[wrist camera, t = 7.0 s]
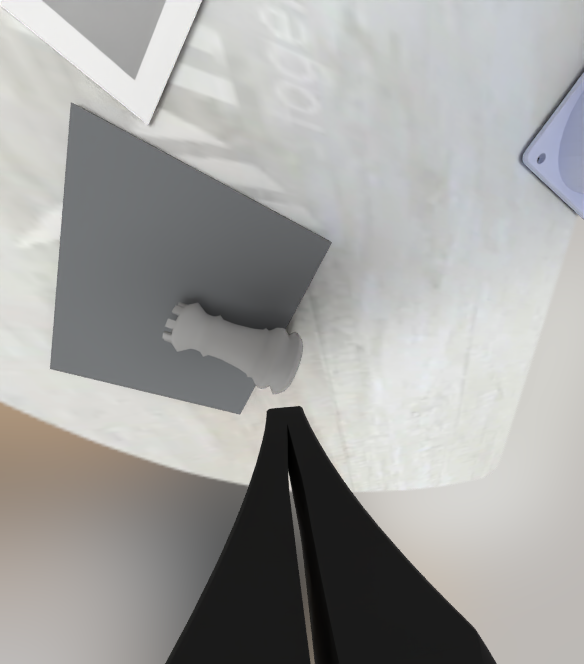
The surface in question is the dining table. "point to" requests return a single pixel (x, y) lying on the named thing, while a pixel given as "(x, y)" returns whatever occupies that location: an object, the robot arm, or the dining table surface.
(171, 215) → the mat
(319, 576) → the robot arm
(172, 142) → the dining table surface
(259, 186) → the dining table surface
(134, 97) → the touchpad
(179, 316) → the rook chess piece
